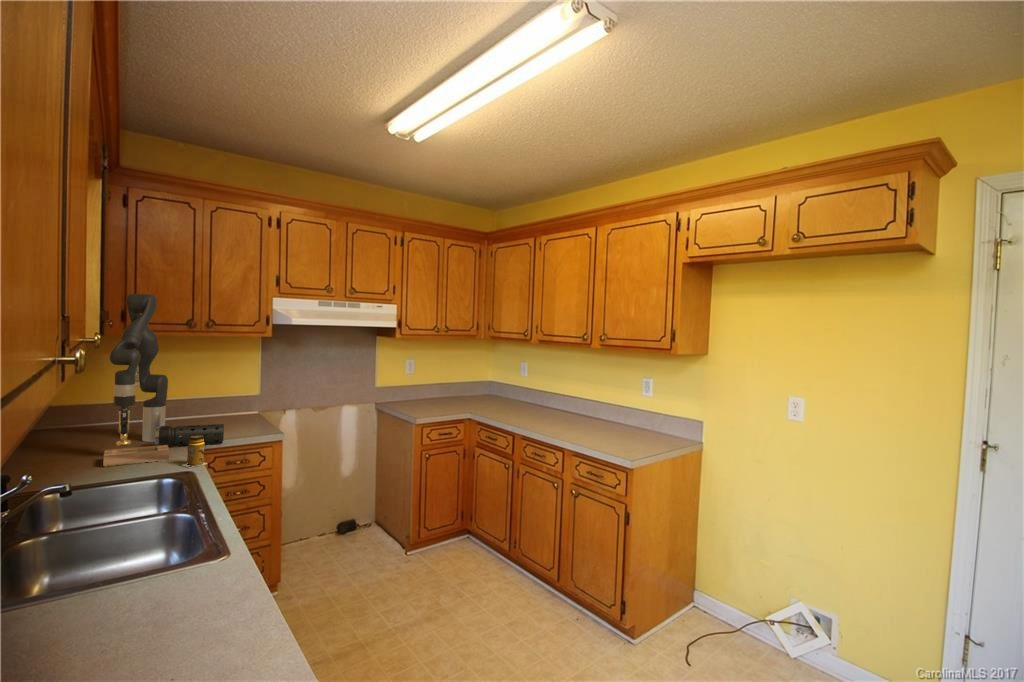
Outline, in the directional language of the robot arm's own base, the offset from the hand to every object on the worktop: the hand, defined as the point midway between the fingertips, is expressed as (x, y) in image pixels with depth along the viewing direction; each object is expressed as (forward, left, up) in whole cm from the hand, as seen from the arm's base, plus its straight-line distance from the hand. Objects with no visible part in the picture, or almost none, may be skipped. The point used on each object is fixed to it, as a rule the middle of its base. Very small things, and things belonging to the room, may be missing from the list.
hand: (123, 432), depth 217 cm
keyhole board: (+10, +5, -11) cm, 15 cm away
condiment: (+27, +24, -11) cm, 38 cm away
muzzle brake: (-11, +26, -11) cm, 30 cm away
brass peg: (0, 0, -5) cm, 5 cm away
